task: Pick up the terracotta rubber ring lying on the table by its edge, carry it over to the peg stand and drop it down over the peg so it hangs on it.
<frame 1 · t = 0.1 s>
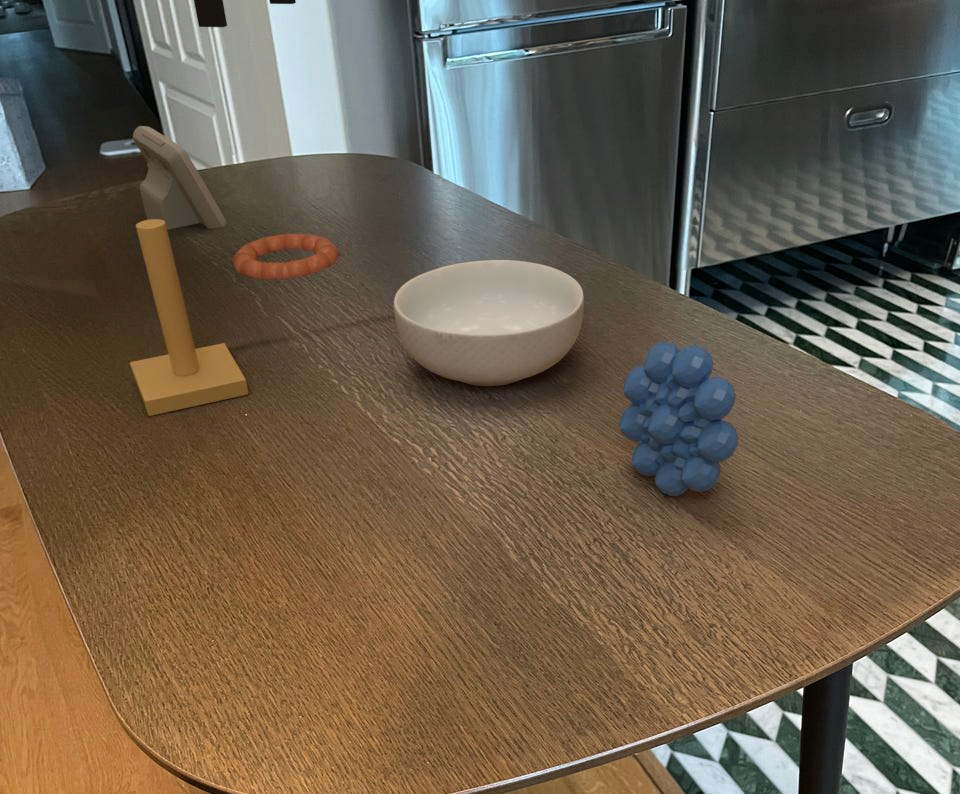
hand: (249, 14, 101), 25 cm above the table, tool pointing down, fingers open, 13 cm apart
cereal bowl: (491, 370, 93), on the table
grapes: (679, 492, 75), on the table
digital clock: (189, 225, 129), on the table
ring: (286, 259, 114), point 1 cm above the table
peg stand: (190, 385, 93), on the table
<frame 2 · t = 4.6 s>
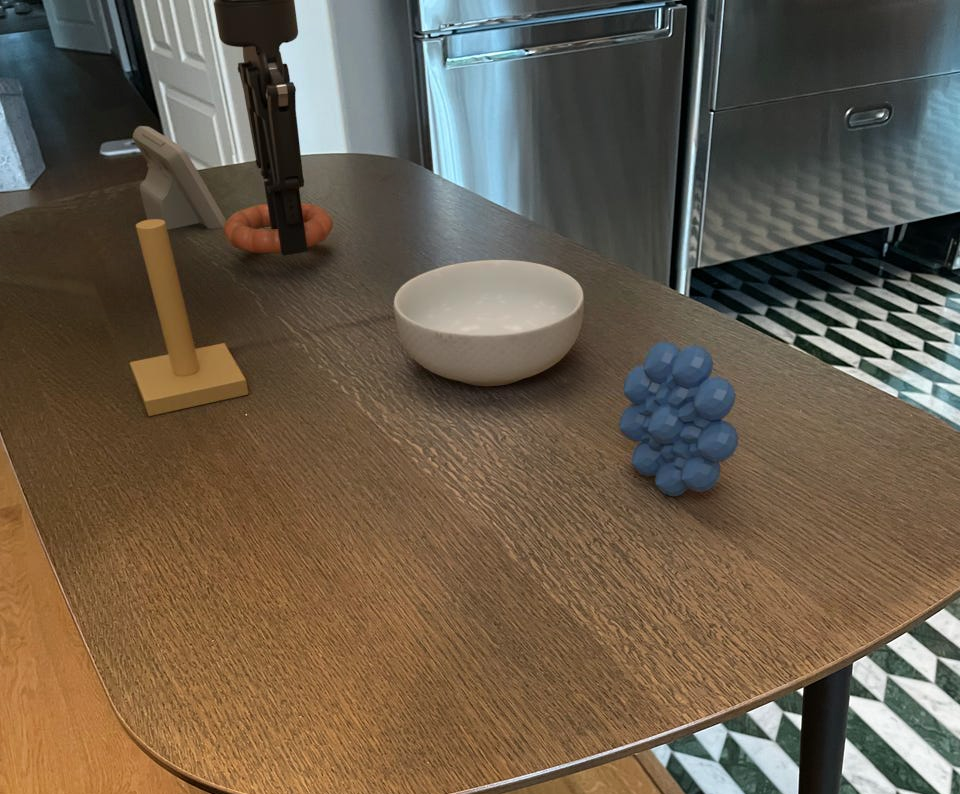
hand: (290, 247, 109), 4 cm above the table, tool pointing down, fingers closed on ring, 3 cm apart
ring: (278, 226, 112), point 5 cm above the table, touching gripper
everything else where it was.
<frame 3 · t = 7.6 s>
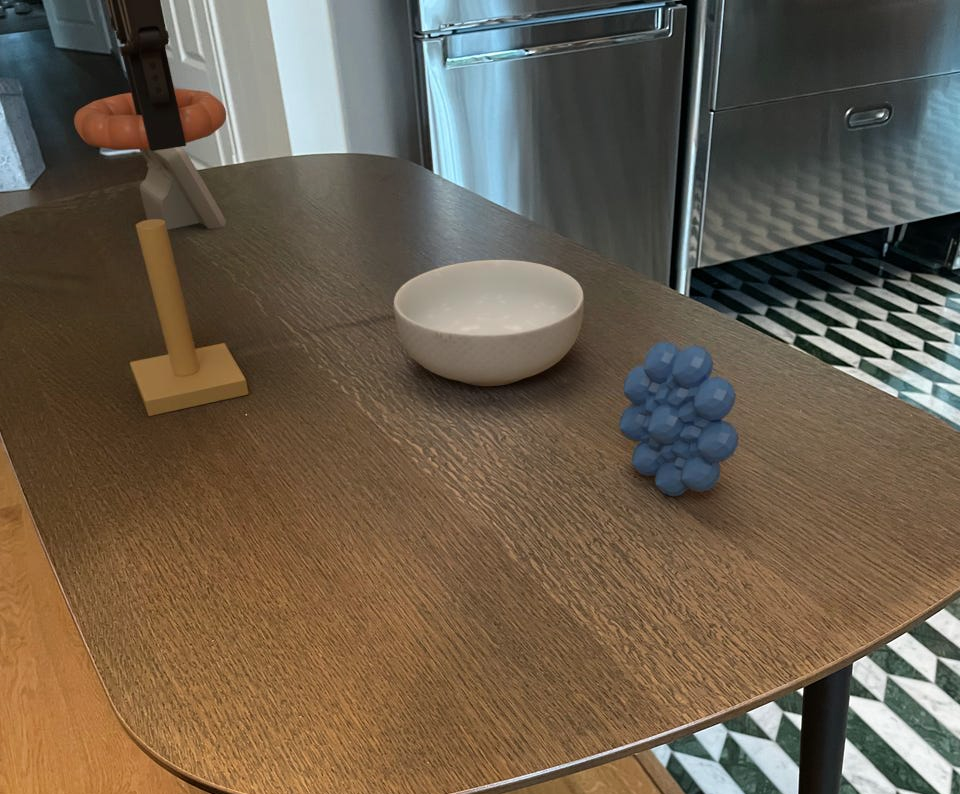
hand: (163, 142, 79), 21 cm above the table, tool pointing down, fingers closed on ring, 3 cm apart
ring: (151, 118, 82), point 22 cm above the table, touching gripper
everything else where it was.
when the fingers open (11 cm above the table, at t = 10.6 s): ring drops 9 cm, resting on peg stand.
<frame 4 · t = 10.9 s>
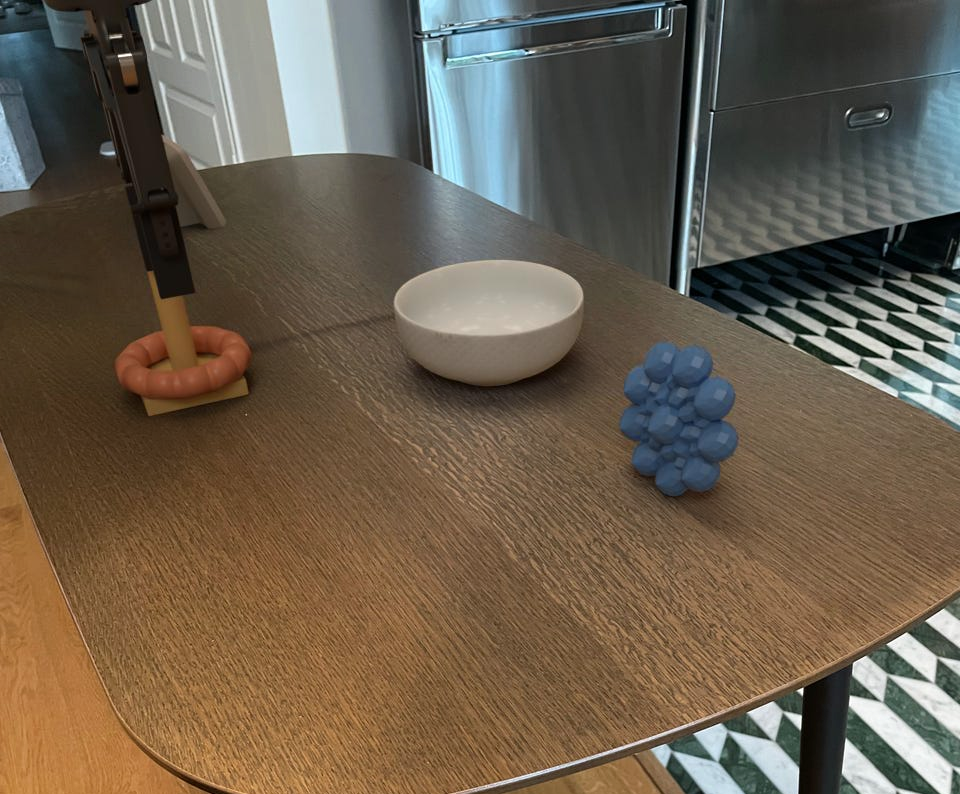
hand: (169, 280, 82), 11 cm above the table, tool pointing down, fingers open, 6 cm apart
ring: (183, 361, 90), point 3 cm above the table, touching peg stand
everything else where it was.
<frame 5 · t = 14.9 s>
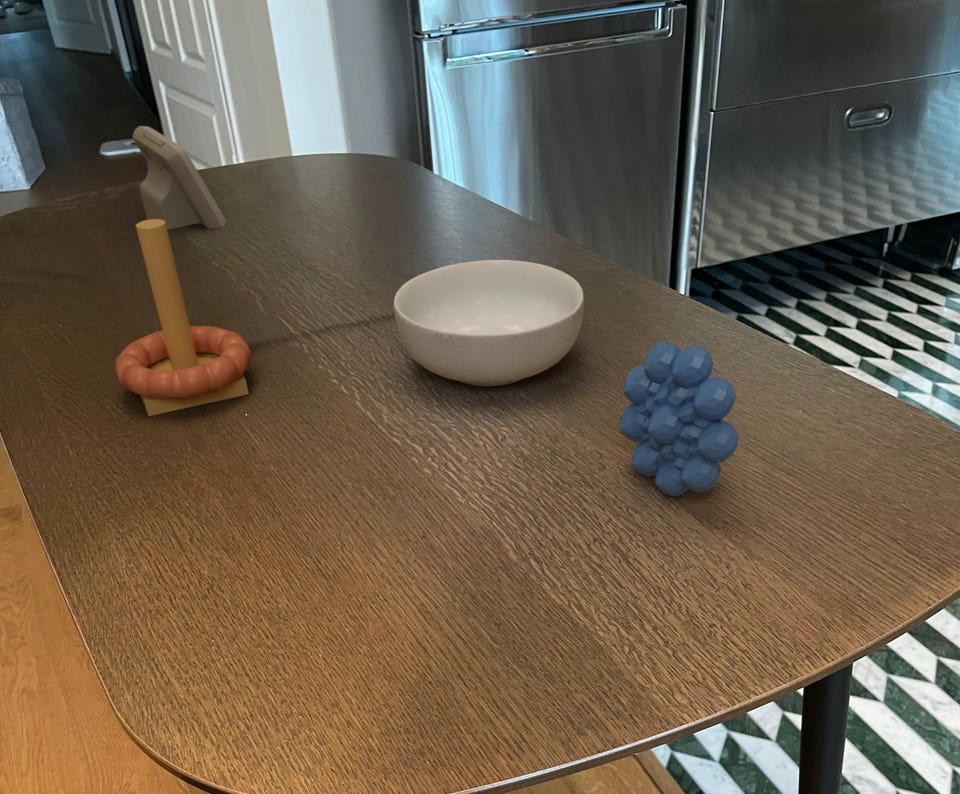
nothing on the table moved.
at the end: ring 0.7 cm off-centre on the peg stand, point 2.7 cm above the peg stand's base; the gripper is holding nothing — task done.
